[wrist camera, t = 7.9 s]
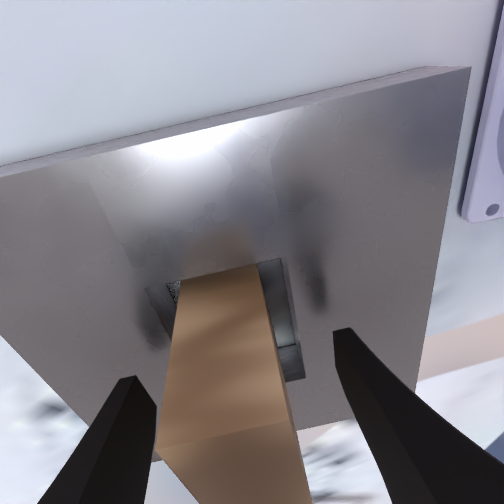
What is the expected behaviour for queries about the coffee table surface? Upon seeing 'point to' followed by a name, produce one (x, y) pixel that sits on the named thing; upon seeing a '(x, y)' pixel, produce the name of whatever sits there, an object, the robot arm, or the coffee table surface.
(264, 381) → the tan cardboard box
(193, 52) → the coffee table surface
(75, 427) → the coffee table surface
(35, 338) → the collar plate
